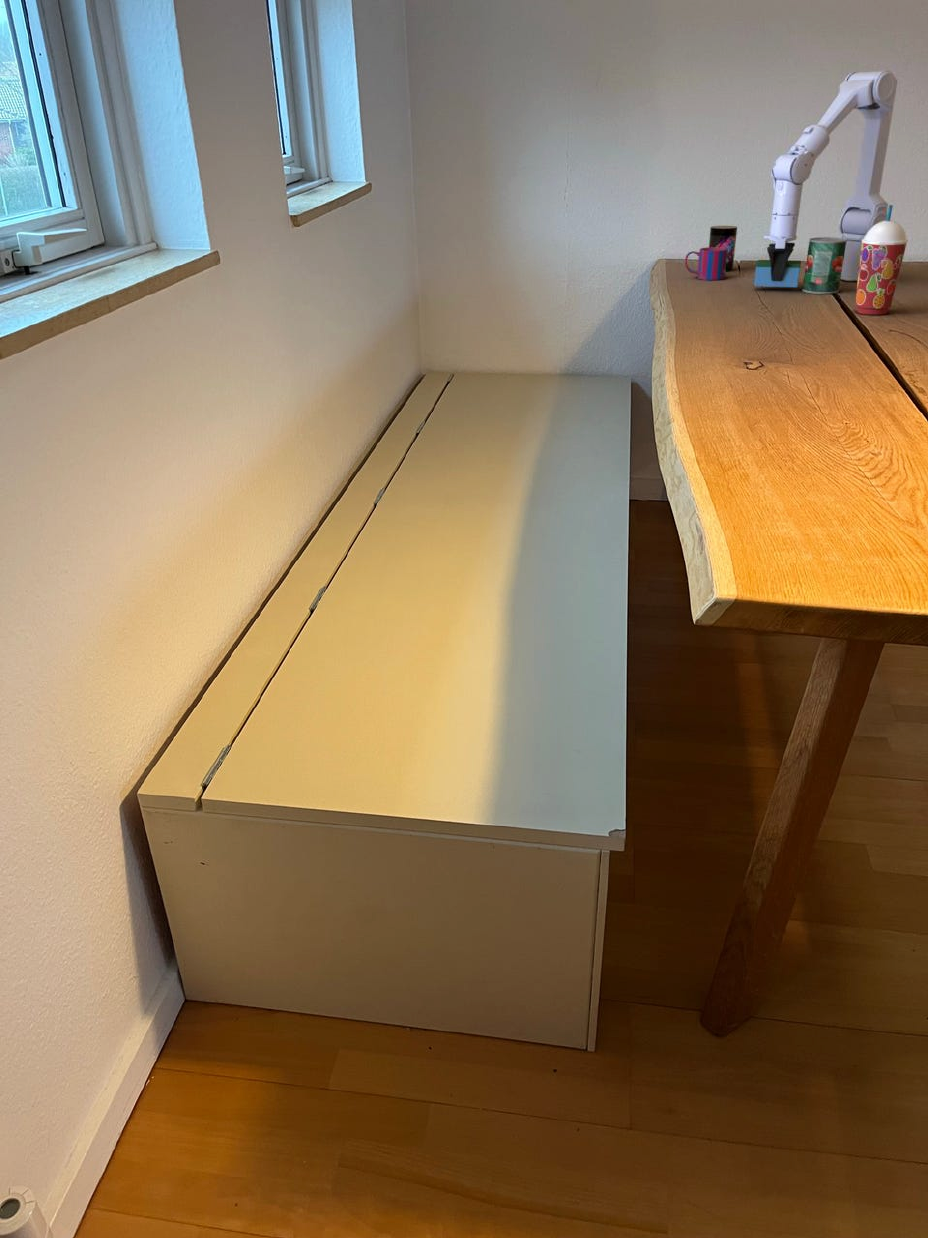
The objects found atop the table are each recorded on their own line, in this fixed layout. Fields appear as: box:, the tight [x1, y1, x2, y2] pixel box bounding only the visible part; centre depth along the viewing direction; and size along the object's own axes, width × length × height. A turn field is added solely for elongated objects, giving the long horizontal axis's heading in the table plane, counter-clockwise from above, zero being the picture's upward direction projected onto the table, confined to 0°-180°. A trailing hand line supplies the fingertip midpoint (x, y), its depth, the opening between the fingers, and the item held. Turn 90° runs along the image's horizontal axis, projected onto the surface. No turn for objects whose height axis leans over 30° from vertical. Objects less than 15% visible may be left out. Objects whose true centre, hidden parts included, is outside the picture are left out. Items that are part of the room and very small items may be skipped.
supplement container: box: [708, 225, 738, 272], centre depth 240 cm, size 7×7×10 cm
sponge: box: [753, 259, 802, 288], centre depth 213 cm, size 10×5×5 cm, turn 71°
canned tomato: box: [801, 236, 847, 295], centre depth 209 cm, size 8×8×11 cm
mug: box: [684, 246, 728, 281], centre depth 230 cm, size 7×10×7 cm
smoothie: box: [854, 204, 909, 316], centre depth 184 cm, size 8×8×20 cm
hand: (777, 278), depth 213 cm, fingers closed on sponge, 5 cm apart
